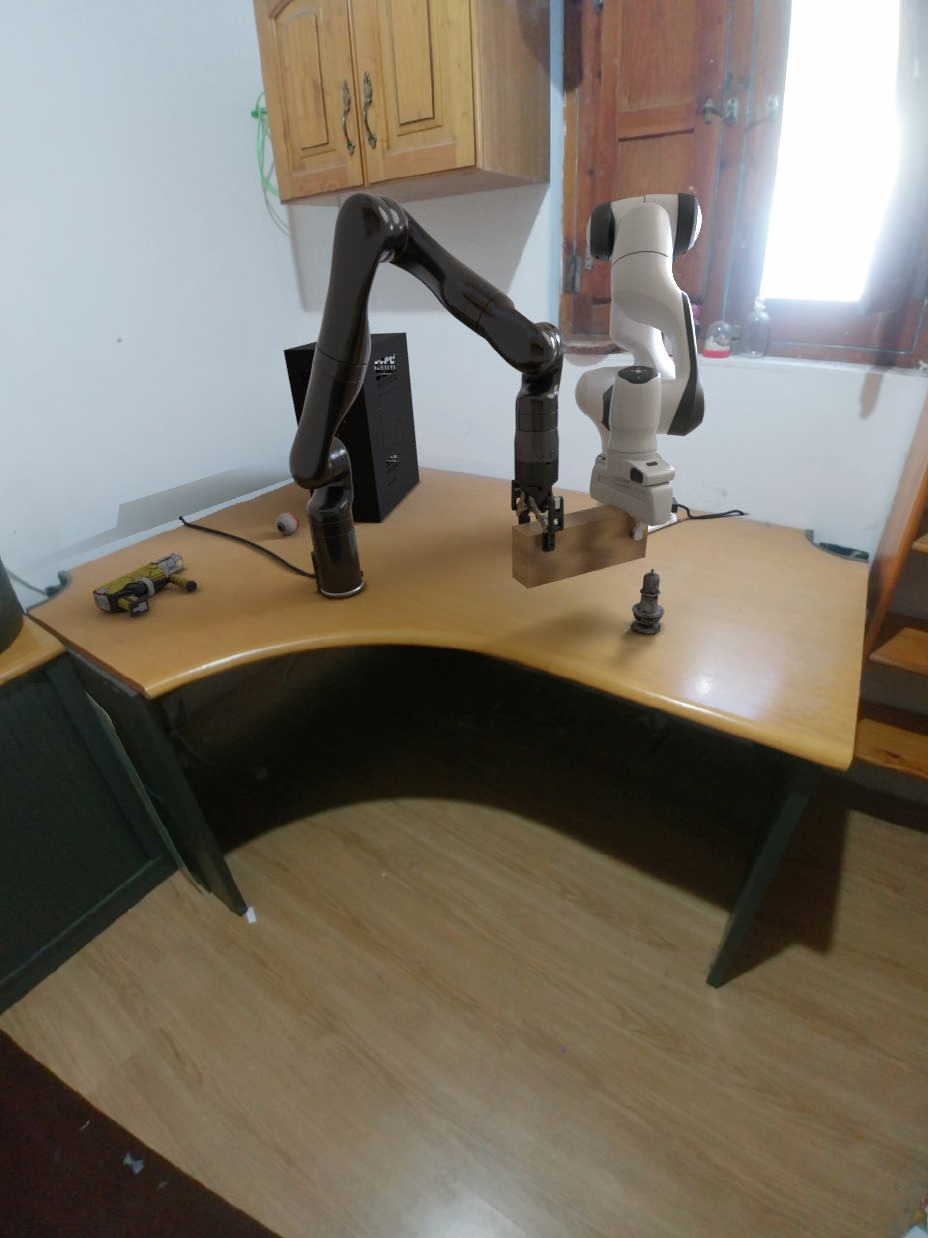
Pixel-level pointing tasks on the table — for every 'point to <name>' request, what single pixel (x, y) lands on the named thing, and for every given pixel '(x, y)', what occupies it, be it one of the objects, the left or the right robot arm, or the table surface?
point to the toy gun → (141, 586)
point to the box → (575, 546)
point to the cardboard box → (371, 425)
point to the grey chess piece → (648, 605)
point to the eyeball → (287, 523)
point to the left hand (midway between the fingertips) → (536, 543)
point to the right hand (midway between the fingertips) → (624, 532)
